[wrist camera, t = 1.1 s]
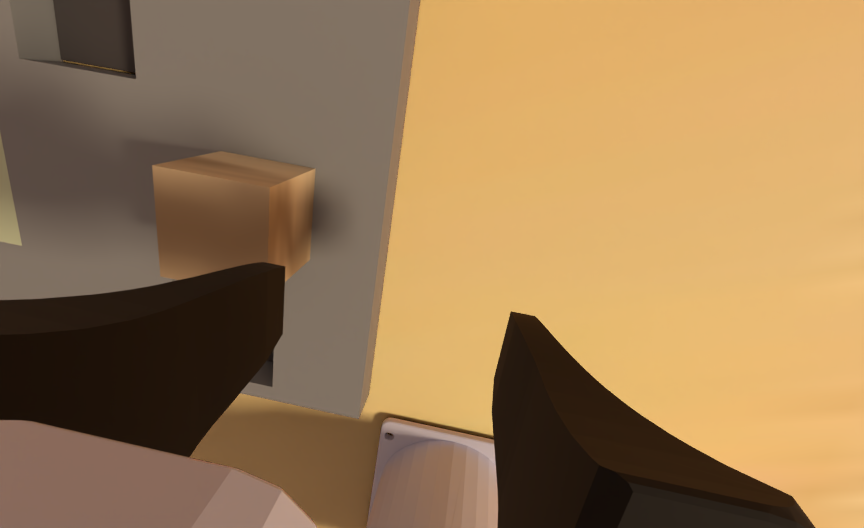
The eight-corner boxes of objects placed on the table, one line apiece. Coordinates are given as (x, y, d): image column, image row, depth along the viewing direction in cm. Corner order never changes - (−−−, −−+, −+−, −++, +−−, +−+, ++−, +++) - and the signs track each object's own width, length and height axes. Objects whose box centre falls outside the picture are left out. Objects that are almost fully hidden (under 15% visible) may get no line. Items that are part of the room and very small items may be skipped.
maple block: (309, 259, 20) (266, 298, 16) (222, 242, 20) (160, 276, 16) (315, 168, 18) (269, 187, 14) (221, 151, 18) (151, 165, 15)
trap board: (368, 394, 24) (358, 418, 22) (-7, 313, 25) (-46, 330, 24) (425, -38, 17) (416, -54, 15) (-108, -120, 18) (-176, -145, 16)
